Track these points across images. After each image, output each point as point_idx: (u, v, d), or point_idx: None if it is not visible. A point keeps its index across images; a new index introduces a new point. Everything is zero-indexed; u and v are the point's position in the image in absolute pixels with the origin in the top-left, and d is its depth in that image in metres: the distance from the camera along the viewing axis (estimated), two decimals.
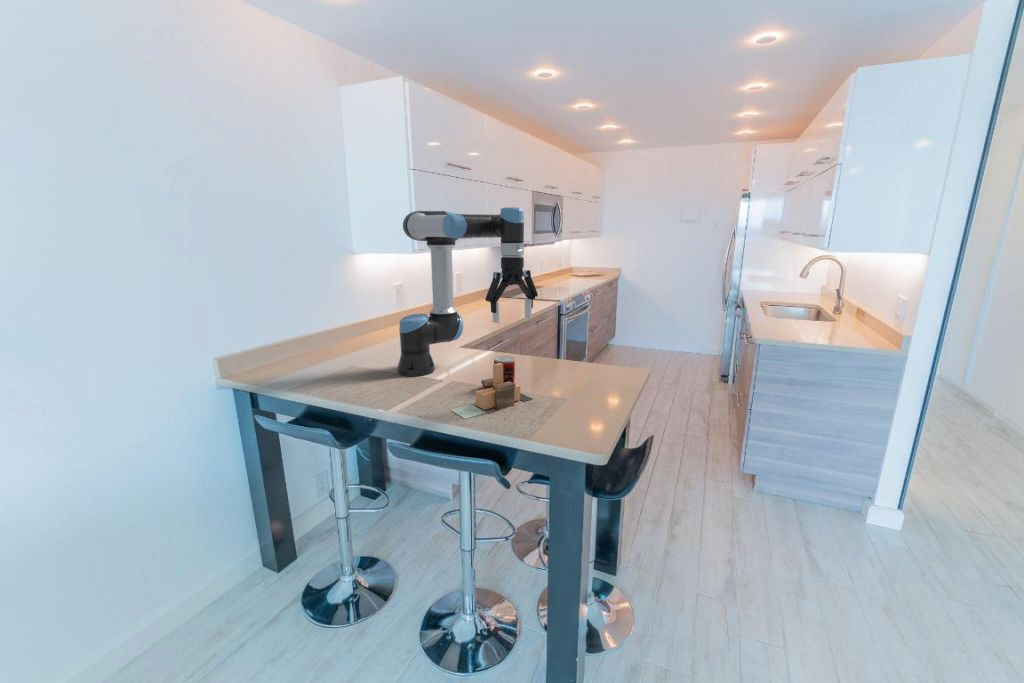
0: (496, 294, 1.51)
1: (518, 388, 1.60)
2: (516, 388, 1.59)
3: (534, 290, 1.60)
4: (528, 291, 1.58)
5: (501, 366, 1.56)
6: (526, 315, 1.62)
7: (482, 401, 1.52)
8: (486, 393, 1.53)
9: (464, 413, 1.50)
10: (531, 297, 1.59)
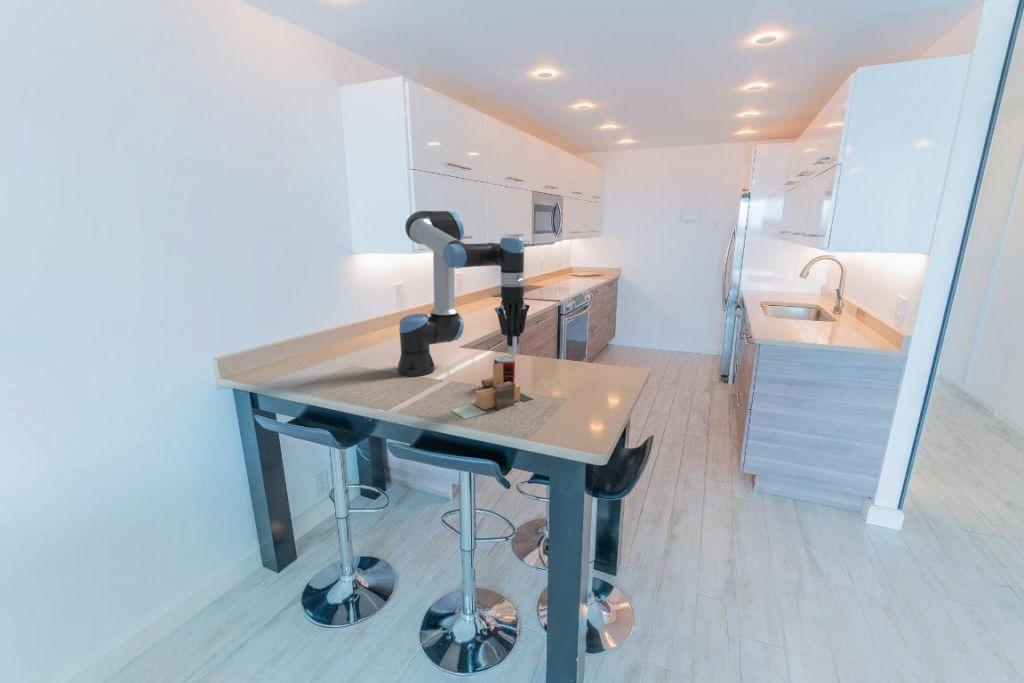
0: (508, 328, 1.55)
1: (518, 388, 1.60)
2: (516, 388, 1.59)
3: (522, 326, 1.57)
4: (518, 326, 1.56)
5: (501, 366, 1.56)
6: None
7: (482, 401, 1.52)
8: (486, 393, 1.53)
9: (464, 413, 1.50)
10: (517, 333, 1.56)
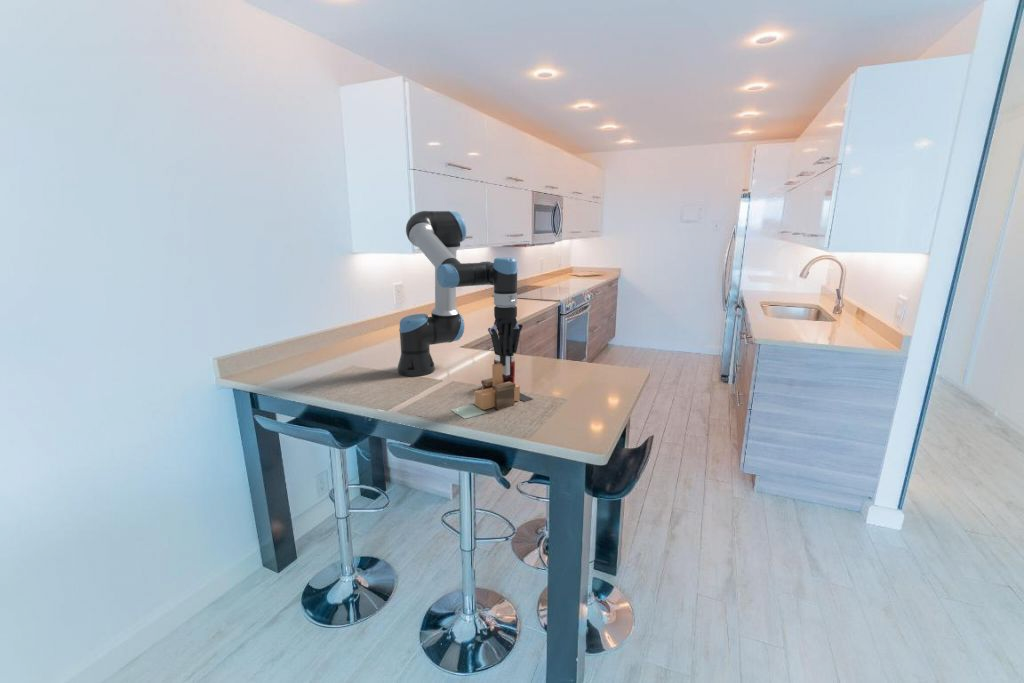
0: (501, 348, 1.55)
1: (517, 388, 1.60)
2: (515, 388, 1.59)
3: (515, 345, 1.57)
4: (510, 345, 1.56)
5: (501, 367, 1.56)
6: None
7: (482, 401, 1.52)
8: (486, 394, 1.52)
9: (464, 413, 1.50)
10: (510, 353, 1.56)
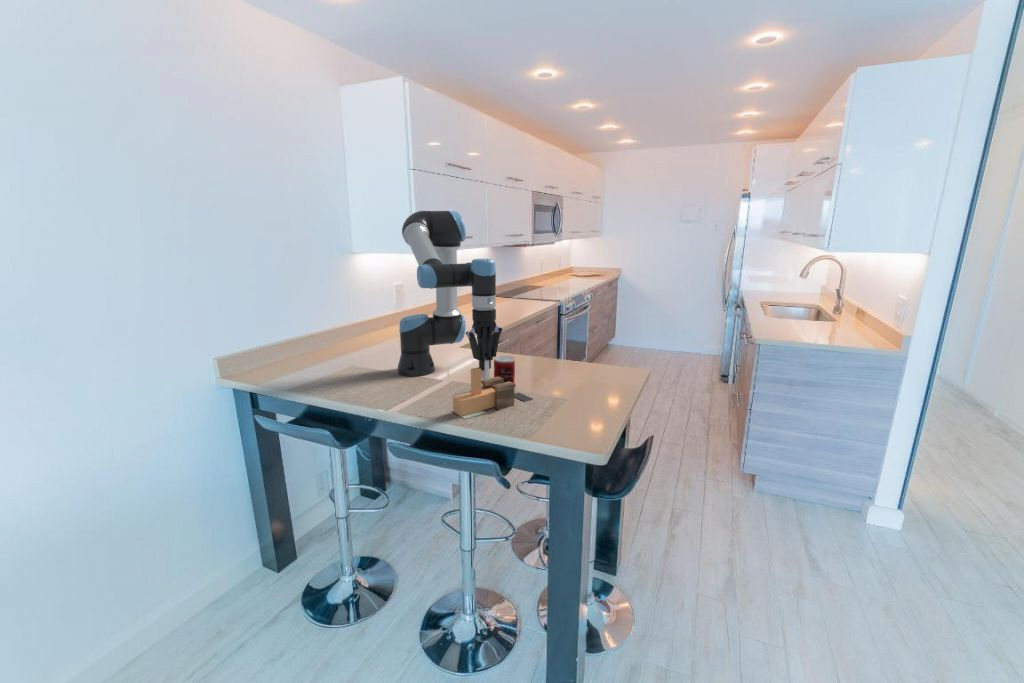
0: (480, 352, 1.50)
1: None
2: None
3: (495, 349, 1.52)
4: (490, 349, 1.51)
5: (479, 371, 1.51)
6: None
7: (459, 407, 1.47)
8: (463, 399, 1.47)
9: None
10: (489, 357, 1.51)
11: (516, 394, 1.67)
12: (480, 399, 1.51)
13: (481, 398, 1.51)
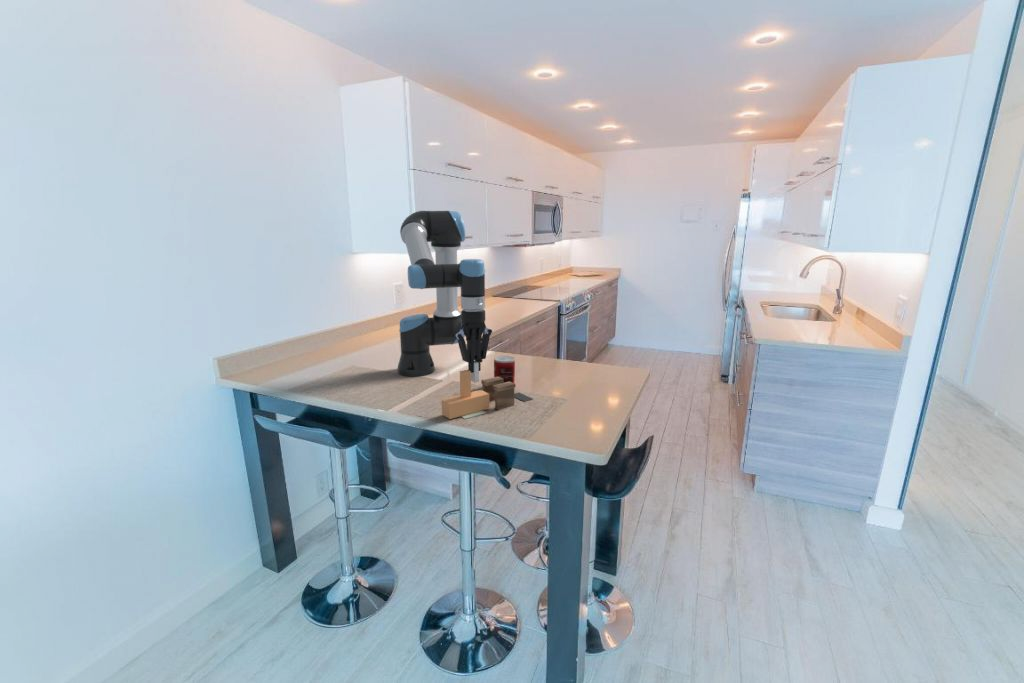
0: (469, 354, 1.47)
1: (487, 396, 1.52)
2: (485, 396, 1.52)
3: (485, 351, 1.50)
4: (479, 351, 1.49)
5: (469, 373, 1.48)
6: None
7: (448, 410, 1.45)
8: (452, 402, 1.45)
9: None
10: (478, 359, 1.49)
11: (516, 394, 1.67)
12: (469, 402, 1.48)
13: (470, 401, 1.49)
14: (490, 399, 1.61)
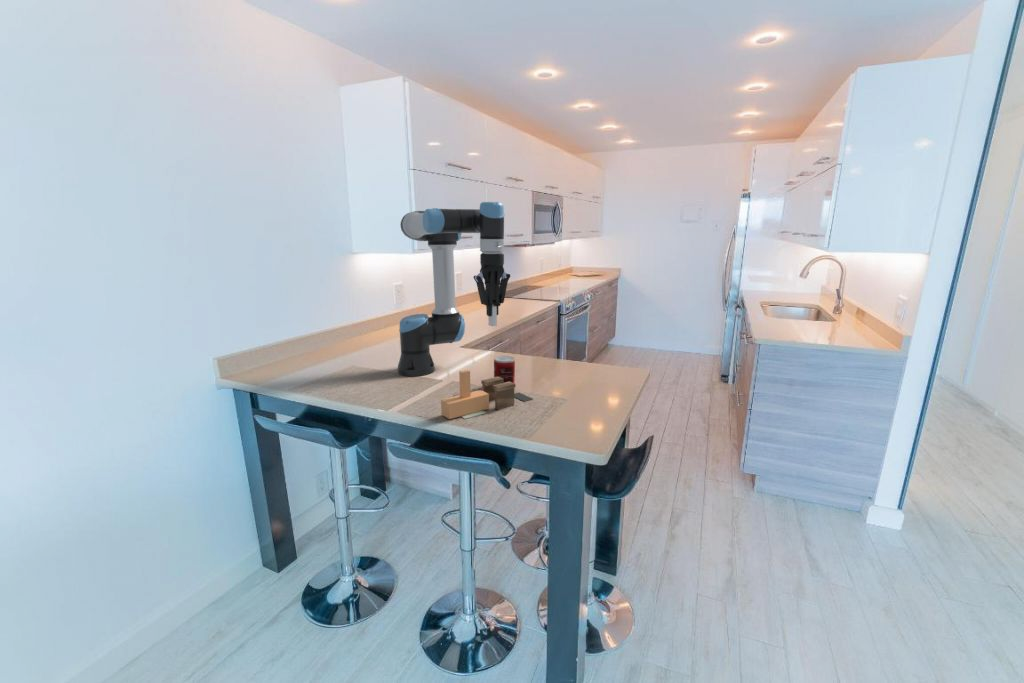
0: (488, 297, 1.50)
1: (487, 396, 1.52)
2: (484, 396, 1.52)
3: (503, 295, 1.52)
4: (497, 295, 1.51)
5: (468, 374, 1.48)
6: None
7: (447, 410, 1.45)
8: (452, 402, 1.45)
9: None
10: (496, 303, 1.51)
11: (516, 394, 1.67)
12: (468, 402, 1.48)
13: (470, 401, 1.49)
14: (490, 399, 1.61)
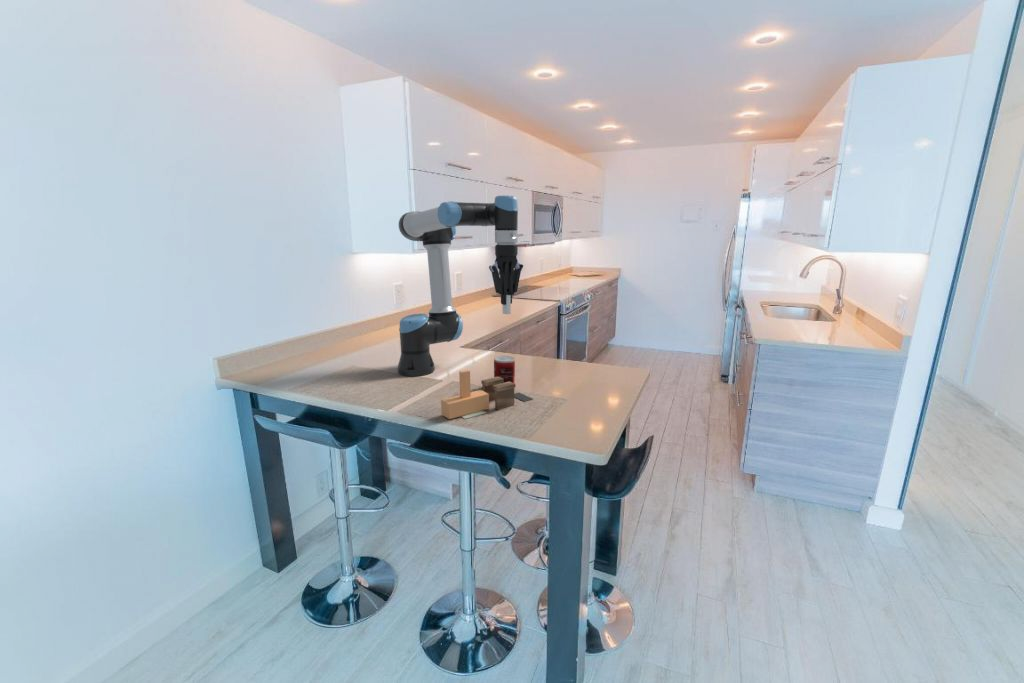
0: (502, 286, 1.58)
1: (487, 396, 1.52)
2: (484, 396, 1.52)
3: (516, 285, 1.60)
4: (511, 284, 1.59)
5: (468, 374, 1.48)
6: None
7: (447, 410, 1.45)
8: (452, 402, 1.45)
9: None
10: (510, 292, 1.59)
11: (516, 394, 1.67)
12: (468, 402, 1.48)
13: (470, 401, 1.49)
14: (490, 399, 1.61)
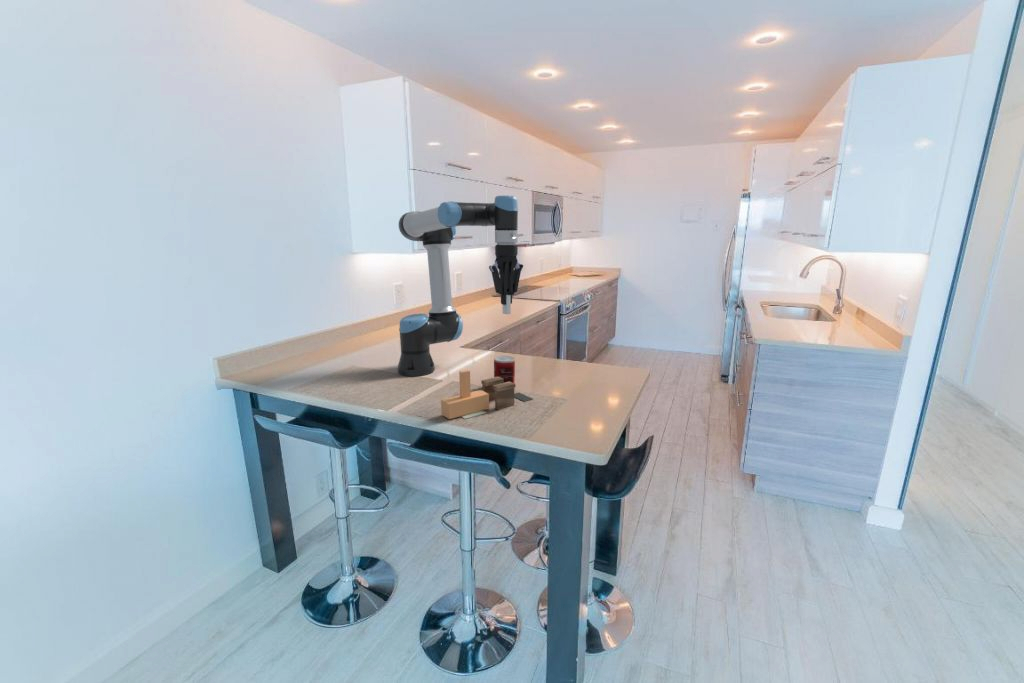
0: (502, 286, 1.58)
1: (487, 396, 1.52)
2: (484, 396, 1.52)
3: (516, 285, 1.60)
4: (511, 284, 1.59)
5: (468, 374, 1.48)
6: None
7: (447, 410, 1.45)
8: (452, 402, 1.45)
9: None
10: (510, 292, 1.59)
11: (516, 394, 1.67)
12: (468, 402, 1.48)
13: (470, 401, 1.49)
14: (490, 399, 1.61)
